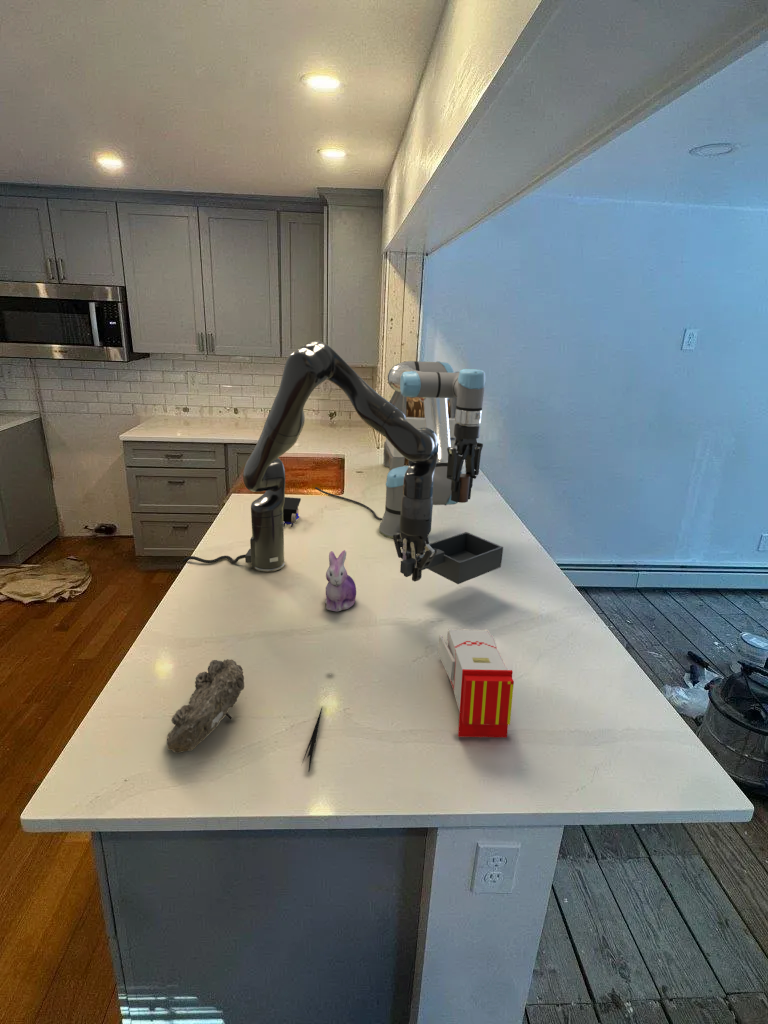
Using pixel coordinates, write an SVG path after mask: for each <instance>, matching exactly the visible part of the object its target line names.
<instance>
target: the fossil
mask: <svg viewBox="0 0 768 1024" xmlns="http://www.w3.org/2000/svg"><path fill="white" fill-rule="evenodd" d="M243 670H244V669H243V667H242V665H240V664H237V662H236V661H235V660H234V659H232V658H231V659H227V658H226V659H224V660H223V661H222V660H217V659H212V660H211V661H210V663H209V665H208V666H207V671H201V672H199V673H198V674H197V675H196V676H195V680H194V684H195V685H194V687H195V689H194V690H193V693H192V694H191V697H190V698H189V700H188V704H184V705H182V706H181V707H180V709H177V710H176V711H175V713H174V715H173V716H172V718H171V723H172V724H173V727H172V730H171V731H170V732H168V734H167V738H166V741H167V742H166V745H167V749H168V750H169V751H173V752H174V753H176V754H178V753H182V752H188V751H189V752H192V751H193V750H195V748H196V747H197V746H199V744H200V743H201V742H203V741H204V740H205V739H206V738H207V737H208V736H209V735H210V734H211V733H212V732H214V730H215V729H217V727H218V726H219V724H220V722H221V721H222V720H223V719H224V718H225V716H226V717H227V719H229V720H233V717H232V715H230V714H229V710H230V709H231V708H234V706H235V704H236V703H237V702H238V699H239V697H240V695H241V693H242V691H243V690H245V689H244V688H245V675H244V671H243Z"/></svg>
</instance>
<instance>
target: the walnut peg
mask: <svg viewBox="0 0 768 1024" xmlns="http://www.w3.org/2000/svg"><path fill="white" fill-rule="evenodd" d="M455 477H456V476H455ZM459 481H461V487H460V497H459V502H458V504H459V503H461V504H465V503H468V502H469V500H468V494H469V484H470V475H468V474H466V473H463V472H462V473H461V474H460V479H459Z"/></svg>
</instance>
